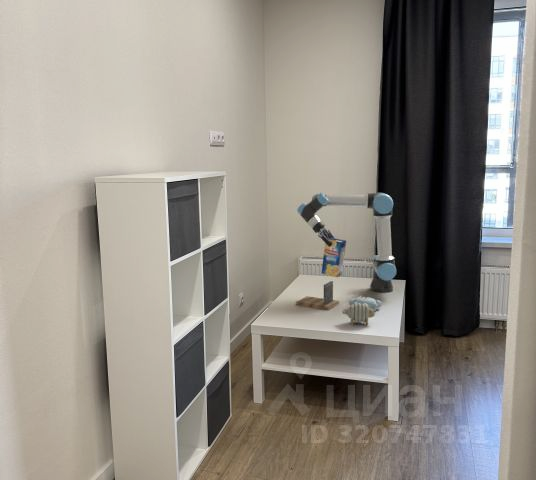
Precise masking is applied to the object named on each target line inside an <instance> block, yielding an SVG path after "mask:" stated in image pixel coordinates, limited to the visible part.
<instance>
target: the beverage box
mask: <svg viewBox="0 0 536 480" xmlns="http://www.w3.org/2000/svg"><path fill="white" fill-rule="evenodd" d="M328 240H329V241H330V242H331V243H332V246H330V247H329V246H328V245H327V244H326V243H325V242H324V251H323V258H322V264H321V265H322V266H321V274H323V275H327V276H330V277H334V278H338V277H341V276H343V270H344V261H345V254H346V245H347V240H345V239H341V238H340V239H339V238H336V237H334V238H330V239H328Z"/></svg>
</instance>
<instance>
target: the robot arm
mask: <svg viewBox="0 0 536 480" xmlns="http://www.w3.org/2000/svg"><path fill="white" fill-rule="evenodd" d="M323 207H345V208H346V207H349V208H352V207H357V208H359V207H360V208H363V207H364V208H365V209H372V215H373V218H375V222H376V223H375V225H376V229H375V230H376V243H377V244H376V246H377V255H373V258H372V279H371V283H370V285H369V290H370V291H372V292H377V293H390V292H393V291H394V285H393V281H392V280H393V279H394V278H395V276H396V275H397V268H396V265H395V263H396V261H395V257H394V256H393V255H392V254H393V253H392V232H391V231H392V229H391V218H392V216H393V207H394V201H393V199H392V197H391V196H390V195H388V194H387V193H384V192H372V193H367V192H366V193H365V194H324V193H323V192H320V193H317V194H314V195H313V196H312V198H311V201H309V202H308V203H306V202H304V203H302V204H300V205H299V206H298V207H297V210H296V211H297V214H299V216H301V218H302V219H303V221H305V223H307V224H308V227H310V228H312V231H313V232H314V233H315V234H316V233H317V234H318V235H317V236H318V237H319V238H320V239H321V240H322V241H323V242H324V244H325V243H326V244H327V245H328V246H329V247H330V246H332V243H331V242H330V241H329V240H328V239H330V238H335V236H334V235H333V233H332V232H331V230H329V229H328V230H327V229H326V228H325V224H324V222H323V221H322V219H320V218H319V217H318V215H317V214H316V213H318V212H319V211H320V210H322V208H323Z"/></svg>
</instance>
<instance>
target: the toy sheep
mask: <svg viewBox="0 0 536 480" xmlns="http://www.w3.org/2000/svg"><path fill="white" fill-rule="evenodd" d="M343 314H344V315H347V317H348V318H349V319H350V322H351V323H350V324H351V325H354V323H358V324H360V323H365V322H366V323H365V325H366V326H368V325H369V318H373V317H374V316H375V311H373V310H372V309H370V308H368V305H364V304H360V303H358V304H354V305H350V306H348V308H347V310H342V315H343Z"/></svg>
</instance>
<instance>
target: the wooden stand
mask: <svg viewBox="0 0 536 480" xmlns="http://www.w3.org/2000/svg"><path fill="white" fill-rule="evenodd" d="M333 298H334V281H329V282H327V283H325V284H323V298H322V297H316V296H304V297H302V298H301V299H299V300H296V302H295V303H296V305H295V306H300V307H307V308H314V309H319V310H326V311H330V310H332V309H333V308H335V307H336V306H338V305H339V303H340V301H339V300H338V299H337V300H336V299H333Z"/></svg>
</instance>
